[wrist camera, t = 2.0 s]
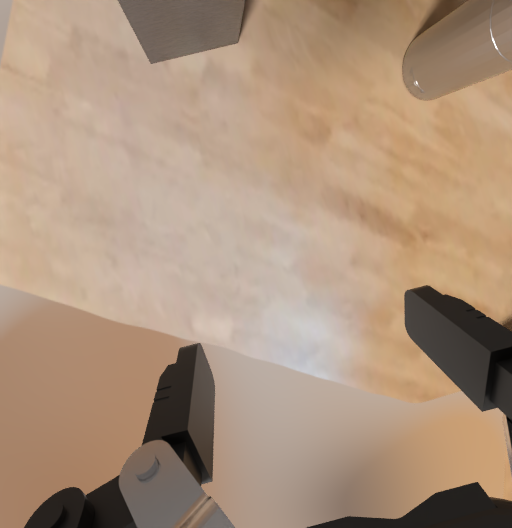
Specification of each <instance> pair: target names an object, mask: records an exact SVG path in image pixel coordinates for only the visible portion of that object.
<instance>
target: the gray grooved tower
mask: <svg viewBox="0 0 512 528" xmlns="http://www.w3.org/2000/svg"><path fill="white" fill-rule="evenodd" d="M118 1H119V3H120V5H121V7H122V9H123V11H124V13H125V15H126V17H127V19H128V21H129V23H130V25H131V26H132V28H133V30H134V32H135V34H136V36H137V38H138V40H139V42H140V44H141V46H142V48H143V50H144V52H145V53H146V55H147V57H148V59H149V61H150V63H151V64H153V63H157V62H161V61H165V60H169V59H173V58H178V57H182V56H186V55H190V54H194V53H198V52H203V51H207V50H211V49H215V48H219V47H223V46H227V45H232V44H236V43H238V38H239V33H240V27H241V21H242V16H243V10H244V4H245V0H118Z"/></svg>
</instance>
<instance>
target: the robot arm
mask: <svg viewBox="0 0 512 528" xmlns="http://www.w3.org/2000/svg"><path fill="white" fill-rule="evenodd" d="M510 70H512V0H468V1H466V2H465V3H464V4H462V5H461V6H459V7H458V8H457V9H455V10H454V11H452V12H451V13H450V14H448V15H447V16H445V17H444V18H443V19H441V20H440V21H438V22H437V23H435V24H434V25H433V26H431V27H430V28H428V29H427V30H426V31H424V32H423V33H422V34H420V35H419V36H418V37H417V38H415V39H414V41H413V42H412V43H411V44H410V46H409V48H408V50H407V52H406V54H405V57H404V62H403V77H404V82H405V84H406V87H407V88H408V90H409V91H410V93H411V94H413V95H414V96H415V97H417V98H419V99H422V100H433V99H436V98H439V97H441V96H444V95H447V94H449V93H452V92H455V91H458V90H460V89H463V88H465V87H468V86H471V85H473V84H476V83H478V82H481V81H484V80H486V79H489V78H492V77H494V76H497V75H499V74H502V73H505V72H507V71H510ZM405 327H406V330H407V333H408V335H409V336H410V338H411V339H412V340H413V341H414V342H415V343H416V344H417V345H418V346H419V347H420V348H421V349H422V350H423V351H424V352H425V353H426V355H427V356H428V357H429V358H430V359H431V360H432V361H433V362H434V363H435V364H436V365H437V366H438V367H439V368H440V369H441V370H442V371H443V372H444V373H445V374H446V375H447V376H448V377H449V378H450V379H451V380H452V381H453V382H454V383H455V384H456V385H457V386H458V387H459V388H460V389H461V390H462V391H463V392H464V393H465V394H466V395H467V397H468V398H470V400H471V401H472V402H473V403H474V404H475V405H476V406H477V407H478V408H479V409H480V410H481V411H482V412H483V411H486V410H490V409H494V408H499V409H500V410H501V411H502V412H503V413H504V415H503V425H504V431H505V438H506V444H507V450H508V456H509V463H510V469H511V475H512V332H511V331H509V330H508V329H506V328H505V327H503V326H502V325H500V324H499V323H497V322H496V321H494V320H492V319H491V318H489V317H486V315H485V314H483V313H482V312H480V311H478V310H475V308H474V307H472V306H471V305H469V304H468V303H466V302H465V301H463V300H461V299H458V298H455V297H452V296H449V295H442V294H441V293H439V292H438V291H436V290H435V289H433V288H432V287H430V286H428V285H426V286H422V287H418V288H414V289H410V290H407V291H406V292H405ZM214 402H215V385H214V379H213V375H212V372H211V369H210V366H209V364H208V361H207V358H206V356H205V353H204V351H203V348H202V346H201V344H200V343H197V344H193V345H190V346H186V347H182V348H180V349H179V352H178V358H177V362H176V363H175V364H171V365H168V366H167V368H166V369H165V371H164V372H163V374H162V375H161V376H160V379H159V383H158V386H157V392H156V394H155V398H154V403H153V405H152V409H151V413H150V417H149V420H148V424H147V428H146V432H145V435H144V439H143V443H142V446H141V447H139V448H138V449H137V450H136V451H135V452H133V453H132V454H131V456H130V457H129V458H128V459H127V461H126V463H125V464H124V466H123V468H122V470H121V473H120V475H119V476H117V477H116V478H114V479H112V480H111V481H109V482H107V483H106V484H104V485H102V486H100V487H99V488H97V489H95V490H94V491H92V492H90V493H89V494H87V495H85V494H84V493H83V492H82V491H81V490H80V489H79V488H76V487H70V488H66V489H63V490H61V491H59V492H57V493H55V494H54V495H52V496H51V497H50V498H48V500H46V501H45V502H44V503H43V504H42V505H41V506H40V507H39V508H38V509H37V510H36V511H35V512H34V514H33V515H32V516H31V517H30V519H29V520H28V522H27V524H26V525H25V527H24V528H235V527H234V526H233V524H232V523H231V522H230V520H229V519H228V518H227V516H226V515H225V514H224V512H223V511H222V510H221V508H220V507H219V506H218V504H217V503H216V502H215V501H214V499H213V498H212V497H208V496H207V494H206V493H205V492H204V490H203V489H202V488H201V484H205V483H208V482H212V474H213V473H212V472H213V438H214ZM307 528H512V501H509V500H505V499H499V498H493V497H488V495H487V494H486V493H485V492H484V490H483V489H482V487H481V486H480V485H479V483H478V482H475V483H471V484H468V485H464V486H460V487H457V488H453V489H449V490H445V491H442V492H438V493H435V494H434V495H432V496H431V497H429V498H428V499H427V500H425V501H424V502H423V503H421V504H420V505H419V506H417V507H416V508H414V509H413V510H411V511H410V512H409V513H407V514H406V515H405V516H403V517H401V518H398V519H384V518H367V517H350V516H349V517H345V518H341V519H337V520H334V521H329V522H326V523H322V524H318V525H315V526H311V527H307Z"/></svg>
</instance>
